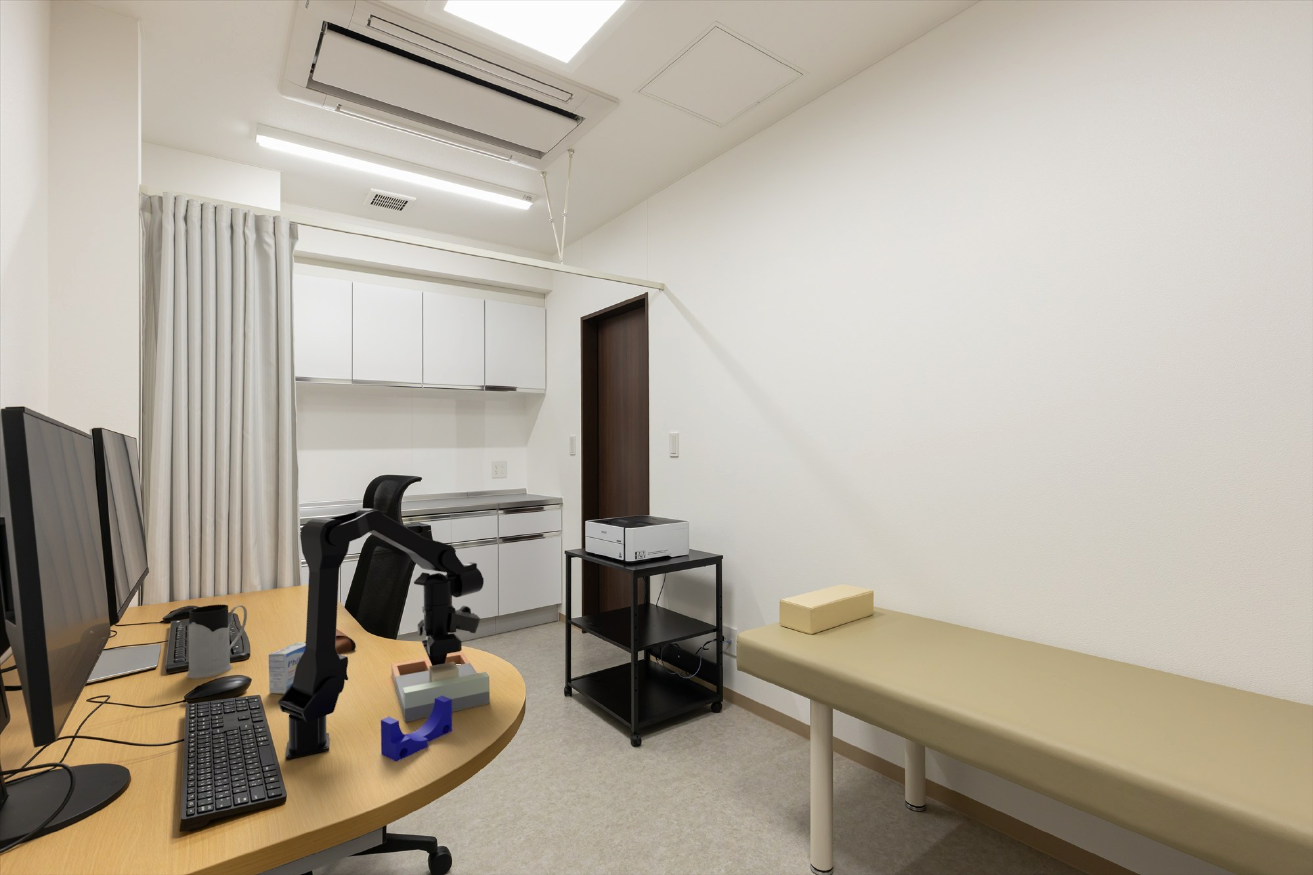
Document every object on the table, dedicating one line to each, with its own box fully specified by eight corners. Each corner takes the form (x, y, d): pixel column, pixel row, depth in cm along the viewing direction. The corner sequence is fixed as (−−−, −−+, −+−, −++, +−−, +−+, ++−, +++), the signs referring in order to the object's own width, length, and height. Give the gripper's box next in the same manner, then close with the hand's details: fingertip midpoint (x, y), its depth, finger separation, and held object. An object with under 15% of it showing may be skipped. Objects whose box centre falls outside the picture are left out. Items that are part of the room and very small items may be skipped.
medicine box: (286, 695, 129) (285, 654, 130) (268, 693, 130) (267, 653, 130) (313, 680, 137) (313, 642, 137) (297, 679, 138) (296, 641, 138)
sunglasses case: (300, 642, 165) (314, 618, 167) (324, 650, 169) (337, 627, 172) (321, 658, 152) (335, 632, 155) (346, 666, 156) (360, 640, 159)
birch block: (458, 688, 125) (458, 669, 125) (433, 693, 122) (433, 673, 122) (454, 680, 129) (453, 661, 129) (429, 685, 127) (429, 666, 127)
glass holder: (176, 676, 141) (176, 612, 142) (232, 656, 155) (232, 597, 155) (206, 679, 139) (206, 614, 139) (260, 658, 153) (259, 598, 153)
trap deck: (489, 703, 123) (489, 676, 123) (405, 721, 115) (404, 693, 115) (462, 661, 147) (462, 639, 148) (391, 674, 140) (391, 650, 140)
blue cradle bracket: (396, 762, 101) (395, 726, 101) (381, 755, 103) (380, 719, 103) (457, 733, 110) (456, 700, 110) (442, 727, 113) (441, 695, 113)
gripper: (486, 606, 125) (487, 682, 125) (467, 588, 141) (468, 655, 141) (429, 615, 120) (430, 694, 120) (416, 595, 136) (417, 664, 136)
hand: (439, 675), depth 129 cm, fingers closed
